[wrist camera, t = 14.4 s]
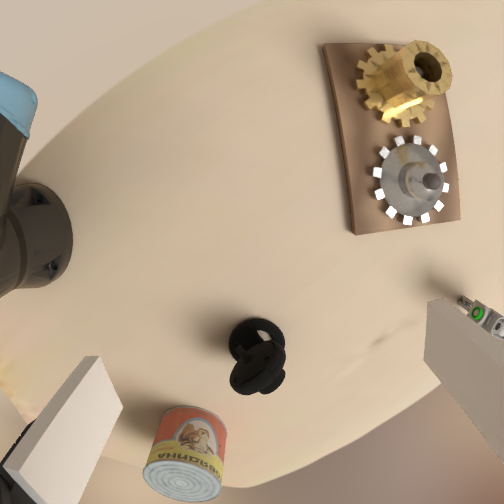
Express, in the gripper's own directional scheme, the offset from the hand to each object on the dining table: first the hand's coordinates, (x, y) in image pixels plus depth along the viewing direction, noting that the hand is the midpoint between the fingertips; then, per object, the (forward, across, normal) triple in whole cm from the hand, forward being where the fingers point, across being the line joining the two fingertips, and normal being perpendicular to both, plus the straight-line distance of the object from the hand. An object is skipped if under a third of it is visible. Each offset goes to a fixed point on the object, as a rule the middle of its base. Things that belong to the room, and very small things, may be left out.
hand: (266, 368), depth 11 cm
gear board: (+28, -20, -10) cm, 36 cm away
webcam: (+28, +2, +15) cm, 32 cm away
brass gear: (+27, -20, -16) cm, 37 cm away
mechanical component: (+28, -30, +16) cm, 44 cm away
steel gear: (+27, -20, -4) cm, 33 cm away
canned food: (+28, +16, +31) cm, 45 cm away
